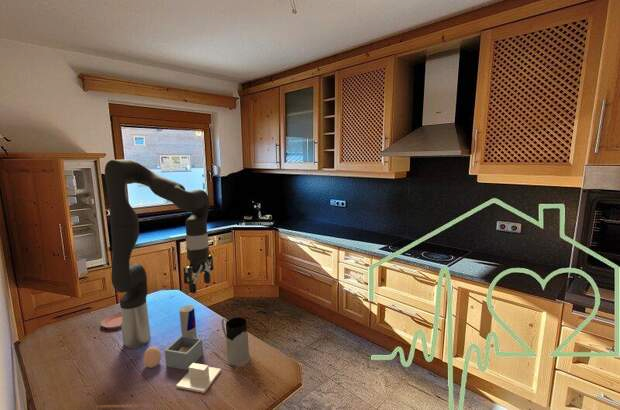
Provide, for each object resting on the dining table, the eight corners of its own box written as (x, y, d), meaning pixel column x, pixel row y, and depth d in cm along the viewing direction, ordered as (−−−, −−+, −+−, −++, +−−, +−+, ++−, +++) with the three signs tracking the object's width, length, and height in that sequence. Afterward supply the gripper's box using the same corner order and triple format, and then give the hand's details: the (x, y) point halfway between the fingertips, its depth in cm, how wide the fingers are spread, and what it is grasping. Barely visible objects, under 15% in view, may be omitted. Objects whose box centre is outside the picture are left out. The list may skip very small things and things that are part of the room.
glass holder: (235, 370, 109) (232, 332, 107) (214, 353, 119) (211, 318, 116) (255, 358, 116) (253, 321, 113) (233, 343, 125) (231, 309, 122)
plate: (128, 311, 153) (128, 307, 152) (142, 320, 144) (142, 316, 144) (96, 324, 141) (95, 320, 141) (109, 334, 133) (108, 330, 133)
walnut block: (177, 363, 113) (176, 353, 112) (182, 356, 116) (181, 347, 116) (188, 363, 113) (187, 353, 112) (192, 356, 117) (191, 346, 116)
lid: (176, 387, 101) (175, 374, 100) (195, 366, 111) (194, 354, 110) (204, 393, 98) (203, 379, 98) (221, 370, 108) (220, 358, 108)
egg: (145, 363, 114) (142, 345, 113) (162, 359, 116) (160, 341, 115) (143, 373, 109) (141, 354, 107) (161, 368, 111) (159, 349, 110)
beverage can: (192, 346, 123) (188, 312, 121) (179, 345, 124) (176, 311, 122) (199, 338, 129) (196, 305, 126) (187, 337, 130) (184, 304, 127)
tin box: (166, 367, 111) (164, 350, 110) (182, 351, 120) (181, 335, 119) (188, 371, 109) (186, 354, 108) (203, 355, 118) (202, 338, 117)
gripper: (200, 239, 118) (203, 279, 121) (175, 250, 104) (178, 295, 107) (217, 240, 116) (220, 281, 119) (194, 252, 102) (197, 297, 105)
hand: (200, 287), depth 113 cm, fingers open, 8 cm apart
